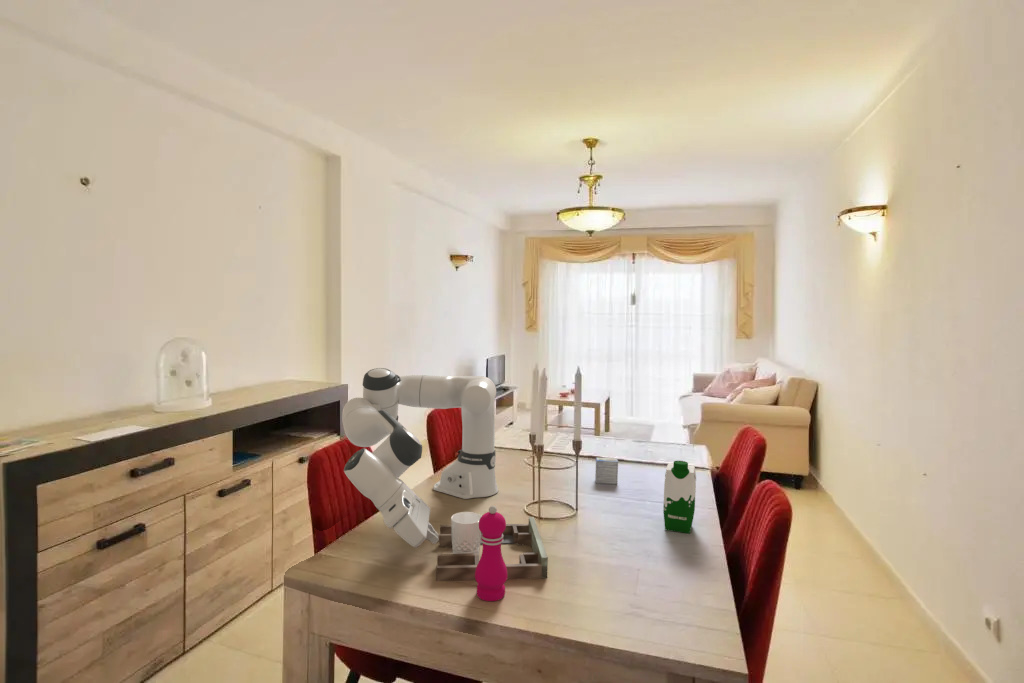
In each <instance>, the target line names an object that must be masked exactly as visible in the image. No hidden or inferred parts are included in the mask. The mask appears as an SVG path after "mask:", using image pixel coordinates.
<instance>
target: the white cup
mask: <svg viewBox="0 0 1024 683" xmlns="http://www.w3.org/2000/svg"><path fill="white" fill-rule="evenodd" d="M481 516H482V515H481V513H480V514H479V513H477V512H473V511H461V512H456V513H454V514H452V516H450V521H451V523H450V525H451V534H452V546H451V547H452V554H479V555H480V549H481V548H480V546H481V544H480V539H481V531H480V530H479V520H480V518H481Z"/></svg>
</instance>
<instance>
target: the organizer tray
mask: <svg viewBox="0 0 1024 683" xmlns="http://www.w3.org/2000/svg"><path fill="white" fill-rule="evenodd" d="M438 534H439V540H438V547H439V548H440V547H442V548H443V547H444V548H445V547H447V548H449V547H452V534H451V524H440V525H439V533H438ZM481 534H482V532H481ZM502 534H503V542H502V543H501V545H515V544H516V545H518V546H531V548H532V550H533V552H523V553H522V554H519V555H518V556H519V558H518V559H519V562H518V563H505V565H506V568H507V576H508V577H507V580H517V579H520V580H523V579H526V580H527V579H529V580H530V579H548V564H549V560H548V559H549V557H548V554H547V551H546V548H545V545H544V542H543V540H542V537H541V534H540V531H539V528H538V525H537V522H536V519H535V517H534V516H528V523H506V528H505V530H504V532H503V533H502ZM480 545H483V543H482V542H481V539H480ZM436 557H437V559H436V560H437V565H436V568H435V571H436V573H435V574H436V576H435V577H436V578H435V579H436V580H435V581H473V580H474V581H476V579H475V570H476V567H477V565H478V563H479V561H480V553H479V554H453V553H438V554H437V556H436Z"/></svg>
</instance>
